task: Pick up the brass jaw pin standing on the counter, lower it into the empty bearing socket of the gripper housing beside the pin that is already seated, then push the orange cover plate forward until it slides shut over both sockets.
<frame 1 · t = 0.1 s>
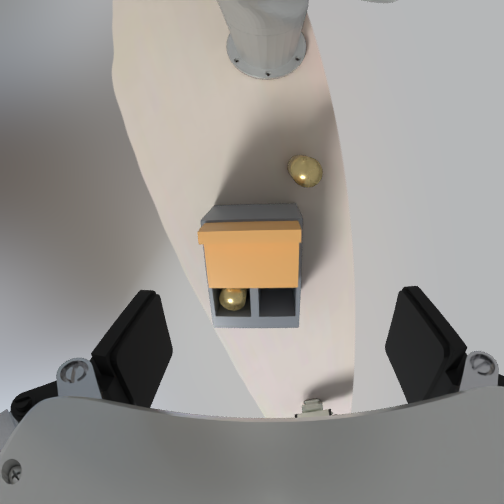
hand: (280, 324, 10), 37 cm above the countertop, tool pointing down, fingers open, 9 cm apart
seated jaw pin: (238, 273, 50), resting in housing
housing: (256, 253, 49), on the countertop
jaw pin: (300, 167, 43), on the countertop
cover: (251, 259, 36), point 12 cm above the countertop, slide at 0.0 cm
pneumatic valve: (311, 403, 63), on the countertop
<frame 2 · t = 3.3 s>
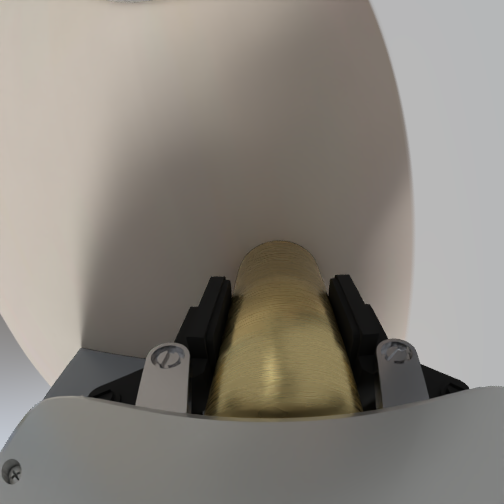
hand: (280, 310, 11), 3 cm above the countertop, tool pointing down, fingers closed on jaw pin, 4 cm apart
housing: (186, 430, 20), on the countertop
jaw pin: (278, 279, 14), on the countertop, touching gripper
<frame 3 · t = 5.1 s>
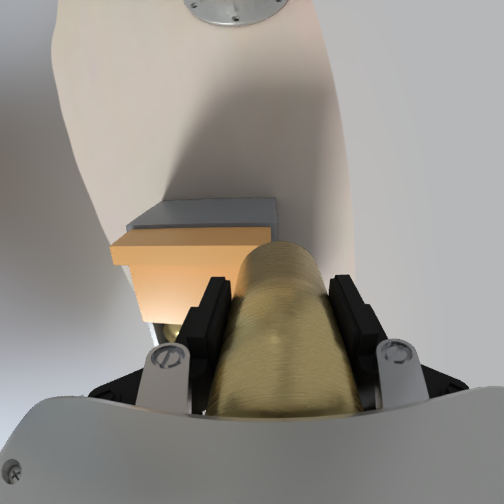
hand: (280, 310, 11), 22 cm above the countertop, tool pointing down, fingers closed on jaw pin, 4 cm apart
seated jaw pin: (198, 292, 37), resting in housing
housing: (221, 267, 35), on the countertop
jaw pin: (279, 279, 14), point 19 cm above the countertop, touching gripper
cover: (195, 286, 23), point 12 cm above the countertop, slide at 0.0 cm
when the fingers open (10 cm above the countertop, at t = 7.4 s): jaw pin drops 7 cm, resting in housing.
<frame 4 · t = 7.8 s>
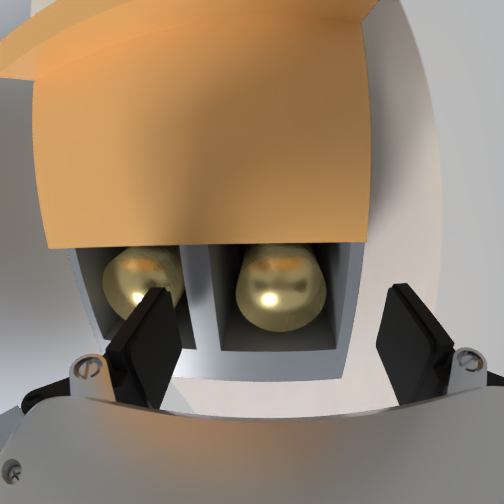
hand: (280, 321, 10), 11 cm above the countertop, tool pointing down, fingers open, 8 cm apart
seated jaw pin: (186, 235, 21), resting in housing
housing: (226, 183, 19), on the countertop
jaw pin: (277, 233, 20), resting in housing
cover: (160, 105, 7), point 12 cm above the countertop, slide at 0.0 cm
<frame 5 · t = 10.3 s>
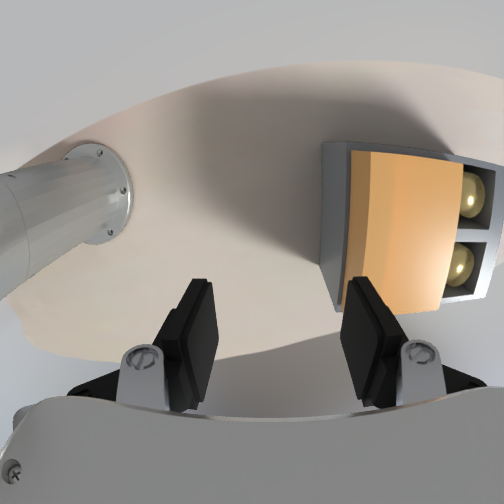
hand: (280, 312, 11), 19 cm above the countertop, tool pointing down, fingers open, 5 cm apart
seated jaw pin: (419, 237, 29), resting in housing
housing: (395, 208, 28), on the countertop
jaw pin: (424, 180, 26), resting in housing
cover: (412, 244, 17), point 12 cm above the countertop, slide at 0.0 cm
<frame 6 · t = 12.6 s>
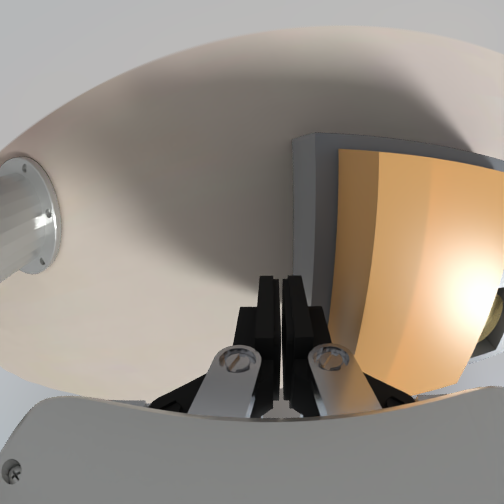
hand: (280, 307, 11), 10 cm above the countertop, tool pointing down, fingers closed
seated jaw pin: (427, 266, 21), resting in housing
housing: (398, 229, 20), on the countertop
cover: (437, 312, 10), point 12 cm above the countertop, slide at 0.6 cm, touching gripper
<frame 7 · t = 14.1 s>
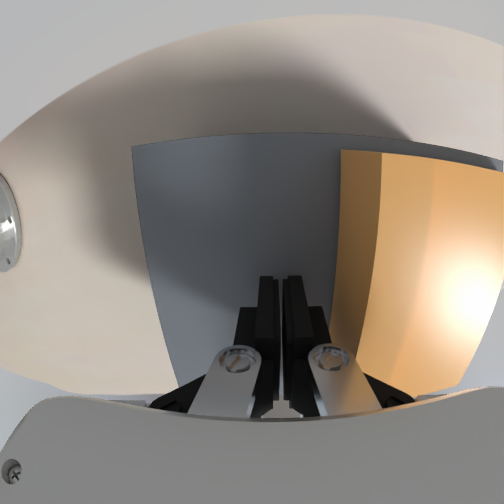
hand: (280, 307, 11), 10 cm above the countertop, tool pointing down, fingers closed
housing: (314, 231, 21), on the countertop
cover: (439, 314, 10), point 12 cm above the countertop, slide at 7.9 cm, touching gripper
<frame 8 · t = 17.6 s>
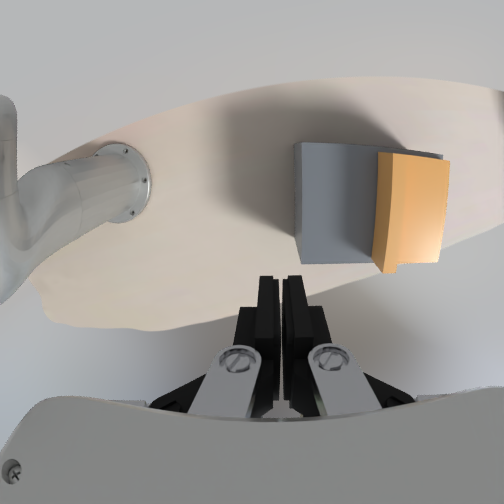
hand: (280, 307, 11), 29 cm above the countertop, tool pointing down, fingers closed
housing: (354, 192, 37), on the countertop
cover: (417, 212, 26), point 12 cm above the countertop, slide at 8.1 cm
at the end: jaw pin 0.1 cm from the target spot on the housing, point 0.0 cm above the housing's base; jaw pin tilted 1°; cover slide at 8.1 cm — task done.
